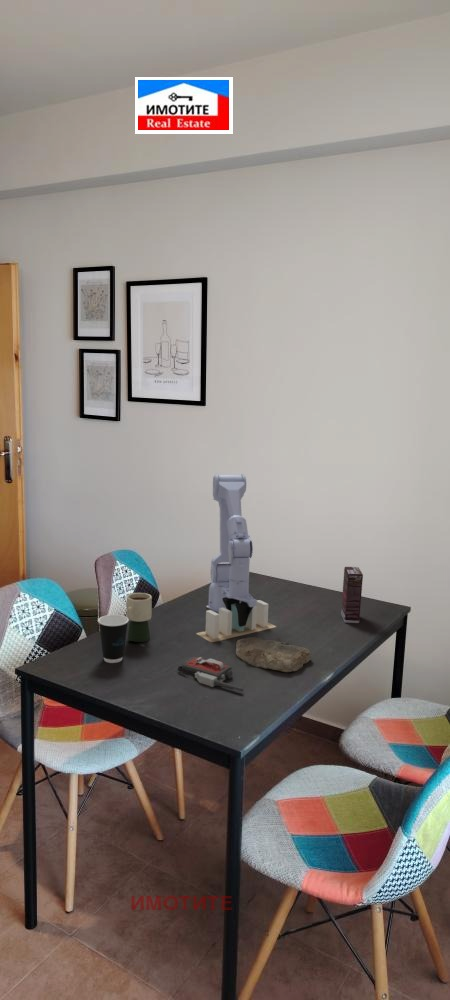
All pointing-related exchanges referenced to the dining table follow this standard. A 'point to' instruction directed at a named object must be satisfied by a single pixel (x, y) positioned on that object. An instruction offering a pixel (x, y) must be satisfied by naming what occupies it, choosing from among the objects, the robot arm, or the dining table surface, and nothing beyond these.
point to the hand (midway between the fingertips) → (237, 623)
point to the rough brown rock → (272, 654)
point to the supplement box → (351, 594)
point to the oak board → (234, 633)
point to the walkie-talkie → (208, 672)
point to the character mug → (139, 616)
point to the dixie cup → (113, 636)
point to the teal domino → (235, 619)
